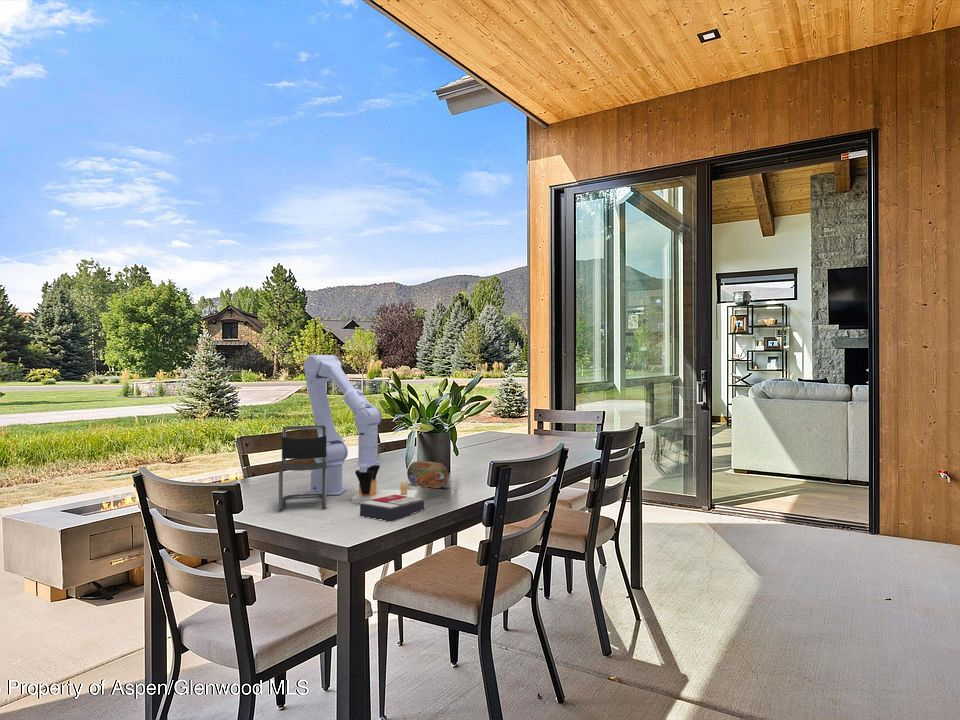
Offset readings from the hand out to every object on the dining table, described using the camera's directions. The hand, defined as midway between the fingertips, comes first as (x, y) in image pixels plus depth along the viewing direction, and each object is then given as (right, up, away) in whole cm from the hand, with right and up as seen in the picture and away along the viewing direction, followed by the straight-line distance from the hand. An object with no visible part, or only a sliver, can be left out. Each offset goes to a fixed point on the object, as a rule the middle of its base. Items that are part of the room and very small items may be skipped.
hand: (367, 491), depth 183 cm
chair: (-18, -2, -7) cm, 19 cm away
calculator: (+10, -3, -16) cm, 19 cm away
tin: (+17, -3, +18) cm, 25 cm away
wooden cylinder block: (0, -1, 0) cm, 1 cm away
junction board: (+6, -2, 0) cm, 6 cm away
